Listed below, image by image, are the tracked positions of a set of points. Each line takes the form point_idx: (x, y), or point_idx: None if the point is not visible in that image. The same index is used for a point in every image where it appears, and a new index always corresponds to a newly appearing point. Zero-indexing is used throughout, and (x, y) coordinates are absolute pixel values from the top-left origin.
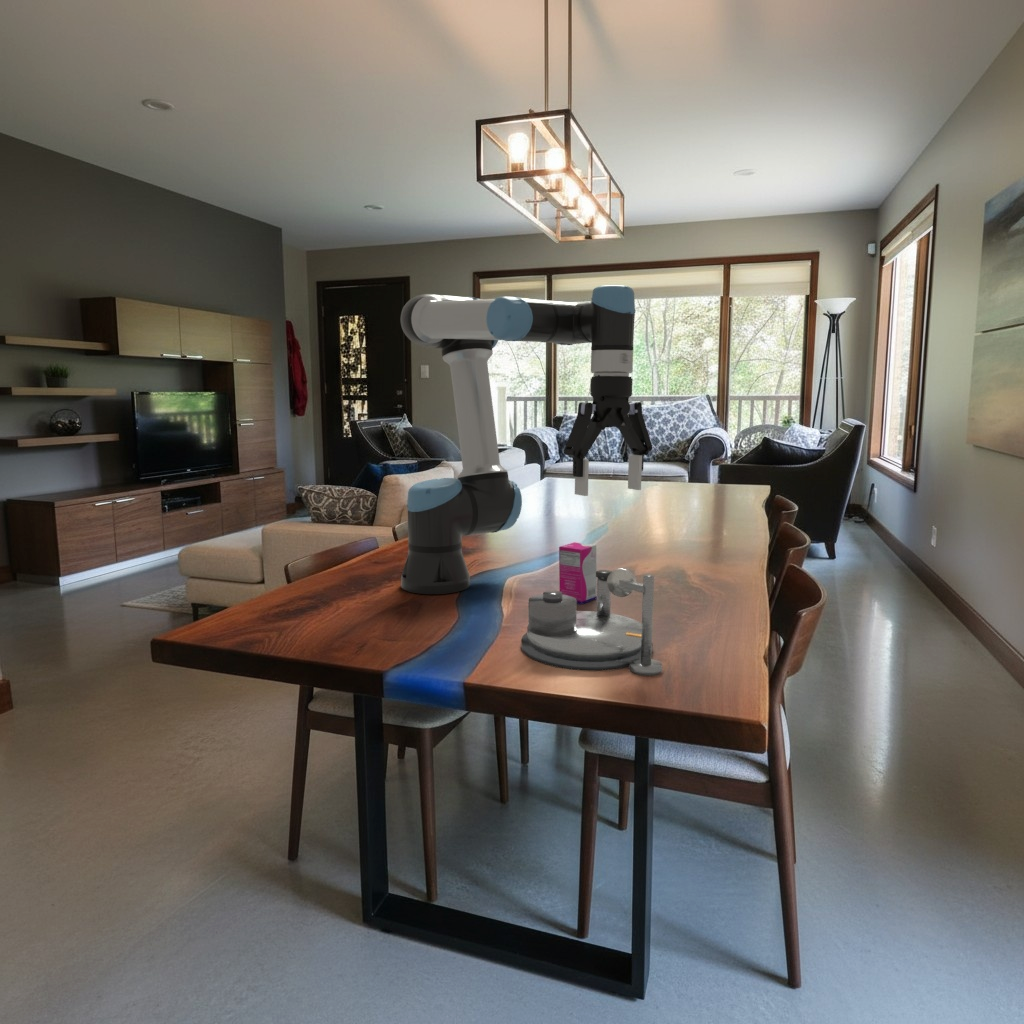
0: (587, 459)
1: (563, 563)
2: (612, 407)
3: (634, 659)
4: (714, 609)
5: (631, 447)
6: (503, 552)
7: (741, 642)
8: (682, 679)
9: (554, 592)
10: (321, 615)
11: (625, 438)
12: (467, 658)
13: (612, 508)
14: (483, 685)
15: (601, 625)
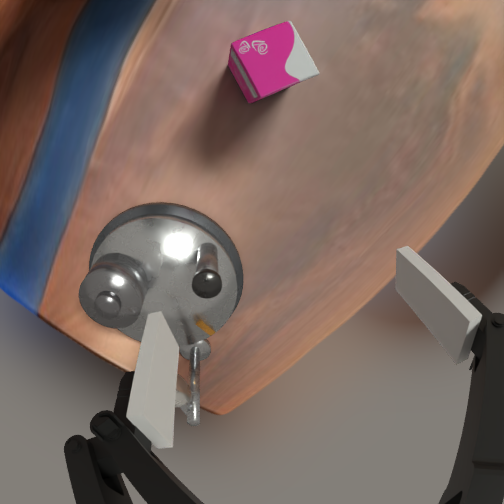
0: (166, 447)
1: (234, 61)
2: None
3: None
4: (400, 209)
5: (482, 357)
6: None
7: (333, 315)
8: (215, 367)
9: (109, 306)
10: None
11: (479, 402)
12: (39, 264)
13: None
14: (51, 324)
15: (183, 289)
